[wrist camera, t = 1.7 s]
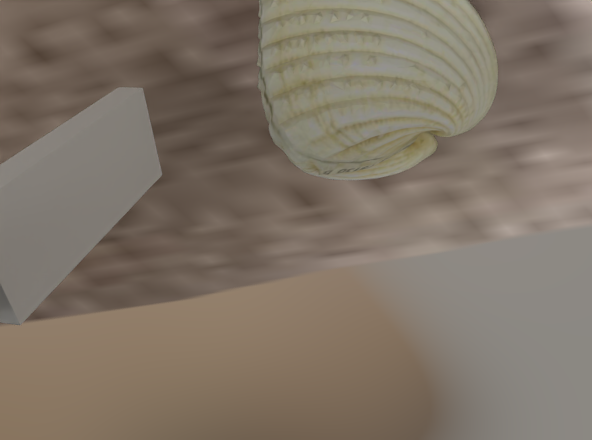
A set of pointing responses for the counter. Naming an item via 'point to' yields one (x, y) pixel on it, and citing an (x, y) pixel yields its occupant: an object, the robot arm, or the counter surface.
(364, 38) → the seashell
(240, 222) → the counter surface
